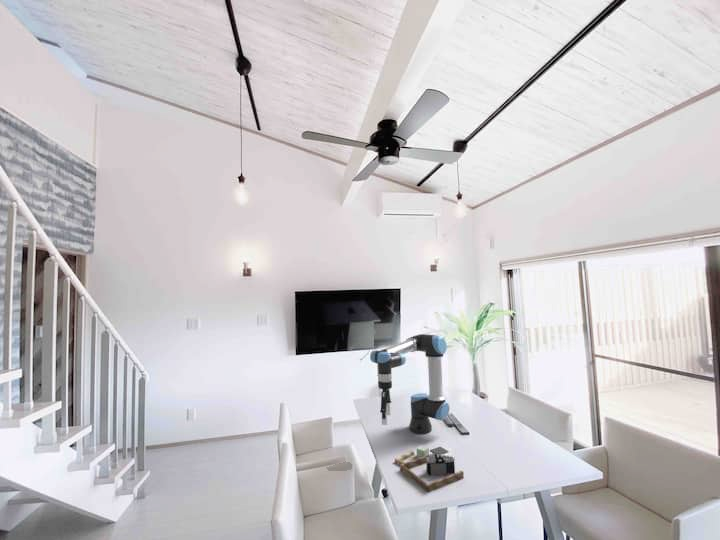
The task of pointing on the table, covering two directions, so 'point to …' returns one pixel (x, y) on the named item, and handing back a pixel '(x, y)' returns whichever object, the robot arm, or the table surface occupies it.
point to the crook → (404, 458)
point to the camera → (440, 465)
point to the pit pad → (439, 450)
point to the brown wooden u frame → (424, 485)
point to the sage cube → (422, 451)
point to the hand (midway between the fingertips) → (386, 419)
